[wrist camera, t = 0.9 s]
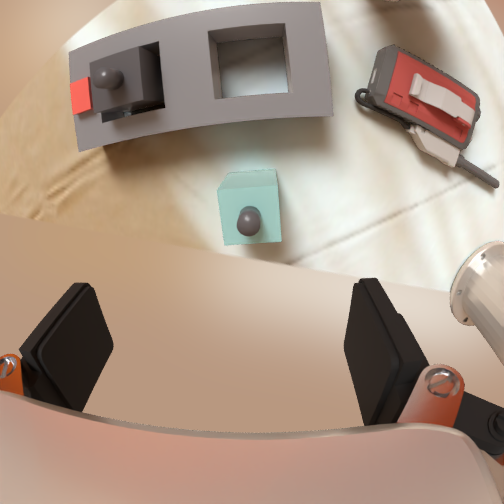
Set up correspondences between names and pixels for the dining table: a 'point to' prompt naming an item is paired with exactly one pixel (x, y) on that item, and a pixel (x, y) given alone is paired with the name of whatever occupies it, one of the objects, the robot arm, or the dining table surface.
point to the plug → (250, 207)
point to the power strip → (194, 73)
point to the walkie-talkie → (425, 106)
